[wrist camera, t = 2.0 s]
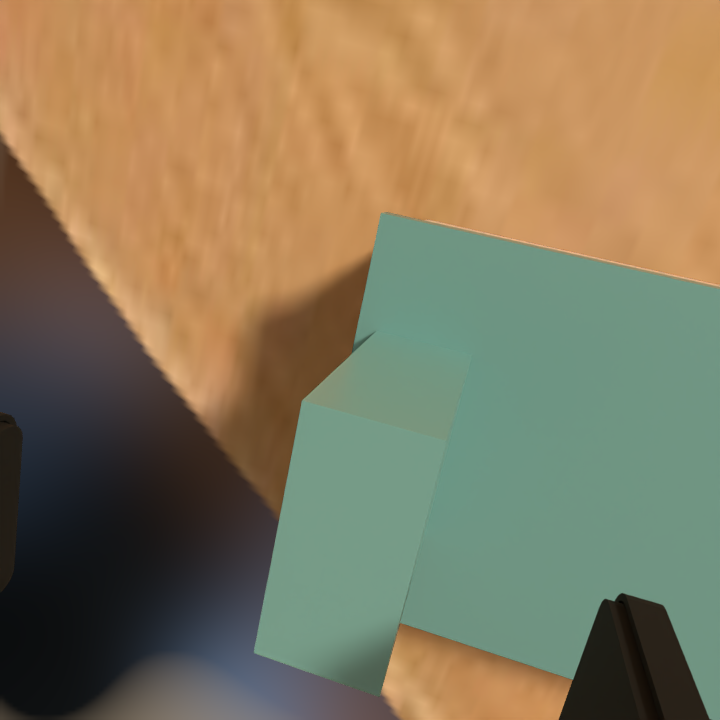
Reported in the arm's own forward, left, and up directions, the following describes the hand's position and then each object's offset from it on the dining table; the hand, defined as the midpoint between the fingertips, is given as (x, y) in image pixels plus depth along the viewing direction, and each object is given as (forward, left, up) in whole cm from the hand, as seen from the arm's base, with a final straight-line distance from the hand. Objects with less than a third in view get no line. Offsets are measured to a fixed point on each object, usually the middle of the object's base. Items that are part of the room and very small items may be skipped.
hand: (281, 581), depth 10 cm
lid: (-6, 0, -8) cm, 10 cm away
